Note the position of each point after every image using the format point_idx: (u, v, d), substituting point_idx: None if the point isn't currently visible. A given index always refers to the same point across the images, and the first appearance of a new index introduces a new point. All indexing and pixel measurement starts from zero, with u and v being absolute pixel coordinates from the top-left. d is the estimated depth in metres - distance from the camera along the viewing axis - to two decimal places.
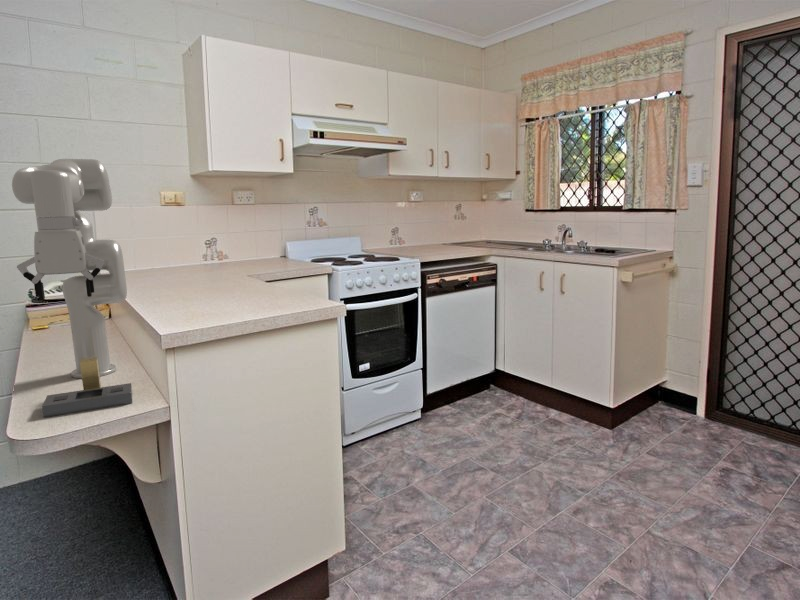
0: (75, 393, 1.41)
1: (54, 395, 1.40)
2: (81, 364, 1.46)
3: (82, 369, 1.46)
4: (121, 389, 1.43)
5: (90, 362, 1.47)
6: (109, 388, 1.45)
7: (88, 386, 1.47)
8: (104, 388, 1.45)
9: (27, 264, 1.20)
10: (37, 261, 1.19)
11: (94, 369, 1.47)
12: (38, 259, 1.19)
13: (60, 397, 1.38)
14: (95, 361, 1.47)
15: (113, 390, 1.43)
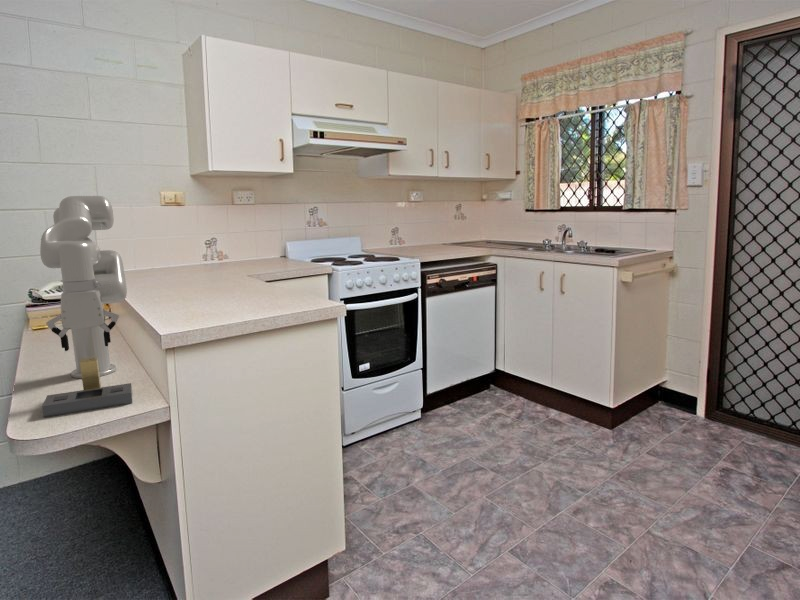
0: (75, 393, 1.41)
1: (54, 395, 1.40)
2: (81, 364, 1.46)
3: (82, 369, 1.46)
4: (121, 389, 1.43)
5: (90, 362, 1.47)
6: (109, 388, 1.45)
7: (88, 386, 1.47)
8: (104, 388, 1.45)
9: (55, 321, 1.42)
10: (63, 318, 1.42)
11: (94, 369, 1.47)
12: (64, 316, 1.42)
13: (60, 397, 1.38)
14: (95, 361, 1.47)
15: (113, 390, 1.43)
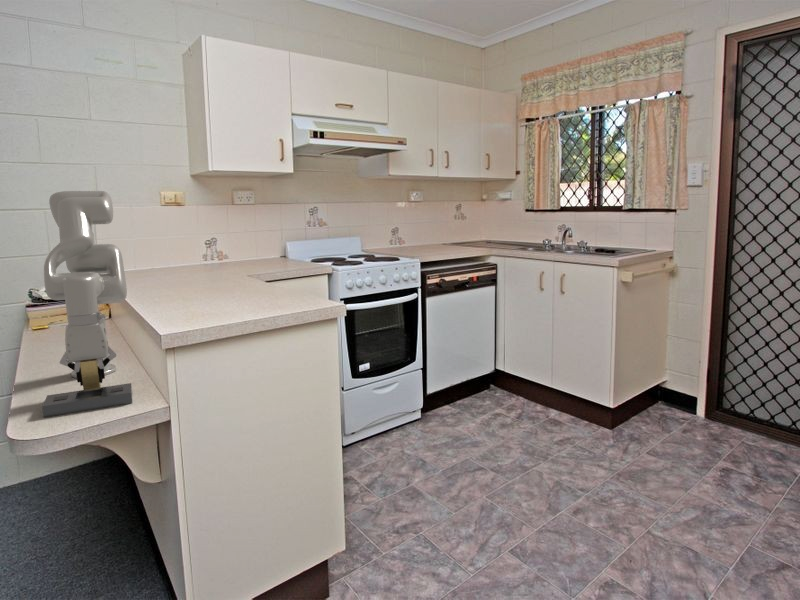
0: (75, 393, 1.41)
1: (54, 395, 1.40)
2: (81, 364, 1.46)
3: (82, 369, 1.46)
4: (121, 389, 1.43)
5: (90, 362, 1.47)
6: (109, 388, 1.45)
7: (88, 386, 1.47)
8: (104, 388, 1.45)
9: (65, 357, 1.45)
10: (68, 351, 1.44)
11: (94, 369, 1.47)
12: (69, 349, 1.44)
13: (60, 397, 1.38)
14: (95, 361, 1.47)
15: (113, 390, 1.43)
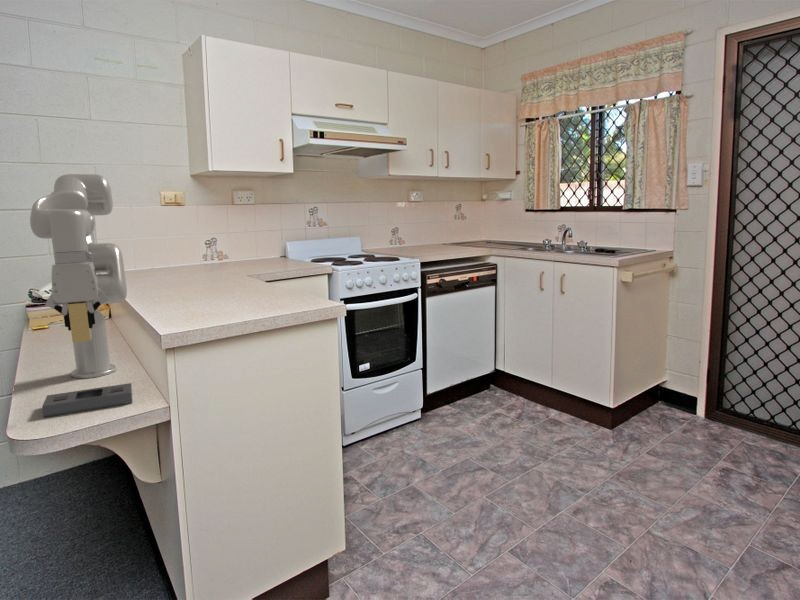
0: (75, 393, 1.41)
1: (54, 395, 1.40)
2: (69, 306, 1.34)
3: (70, 312, 1.34)
4: (121, 389, 1.43)
5: (79, 304, 1.35)
6: (109, 388, 1.45)
7: (77, 331, 1.35)
8: (104, 388, 1.45)
9: (52, 299, 1.33)
10: (54, 292, 1.32)
11: (83, 313, 1.35)
12: (55, 290, 1.32)
13: (60, 397, 1.38)
14: (84, 304, 1.35)
15: (113, 390, 1.43)
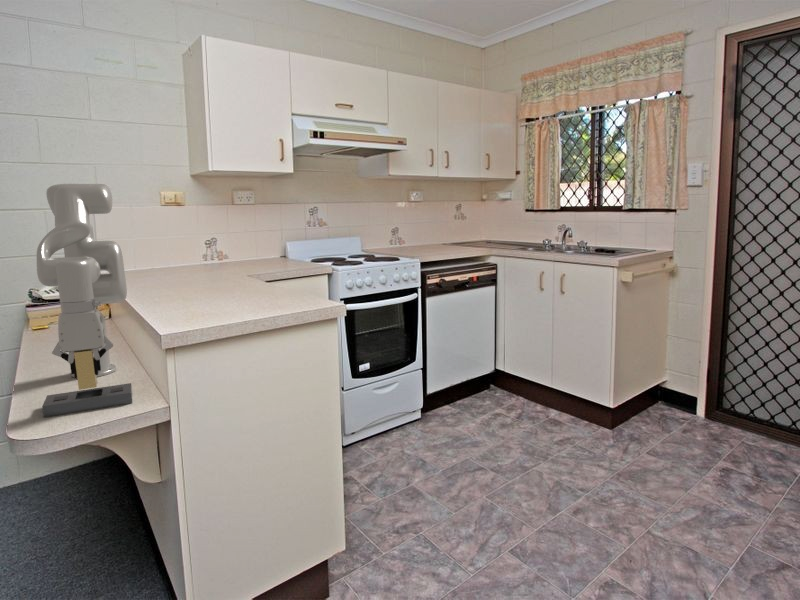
0: (75, 393, 1.41)
1: (54, 395, 1.40)
2: (75, 354, 1.36)
3: (76, 360, 1.36)
4: (121, 389, 1.43)
5: (85, 352, 1.37)
6: (109, 388, 1.45)
7: (83, 378, 1.37)
8: (104, 388, 1.45)
9: (58, 347, 1.35)
10: (61, 341, 1.34)
11: (89, 360, 1.37)
12: (62, 339, 1.34)
13: (60, 397, 1.38)
14: (90, 351, 1.37)
15: (113, 390, 1.43)
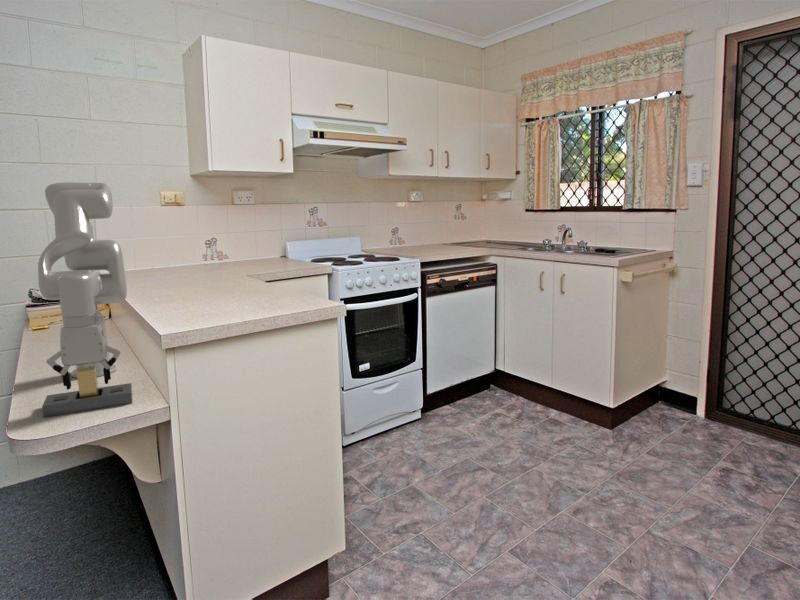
0: (75, 393, 1.41)
1: (54, 395, 1.40)
2: (78, 374, 1.37)
3: (79, 379, 1.37)
4: (121, 389, 1.43)
5: (87, 372, 1.38)
6: (109, 388, 1.45)
7: (85, 397, 1.39)
8: (104, 388, 1.45)
9: (55, 358, 1.35)
10: (63, 355, 1.35)
11: (91, 379, 1.39)
12: (64, 353, 1.35)
13: (60, 397, 1.38)
14: (93, 370, 1.38)
15: (113, 390, 1.43)
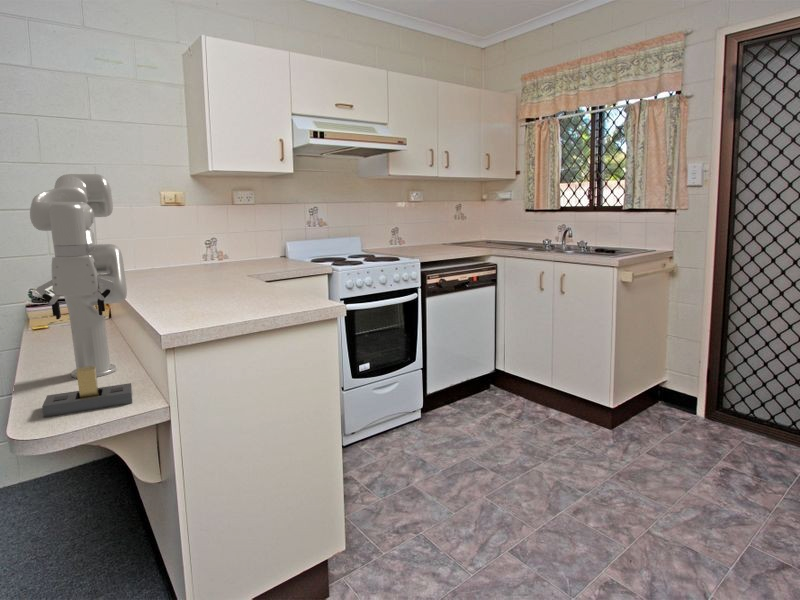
0: (75, 393, 1.41)
1: (54, 395, 1.40)
2: (78, 374, 1.37)
3: (79, 379, 1.37)
4: (121, 389, 1.43)
5: (87, 372, 1.38)
6: (109, 388, 1.45)
7: (86, 397, 1.39)
8: (104, 388, 1.45)
9: (45, 287, 1.34)
10: (54, 284, 1.33)
11: (91, 379, 1.39)
12: (55, 283, 1.33)
13: (60, 397, 1.38)
14: (93, 370, 1.38)
15: (113, 390, 1.43)
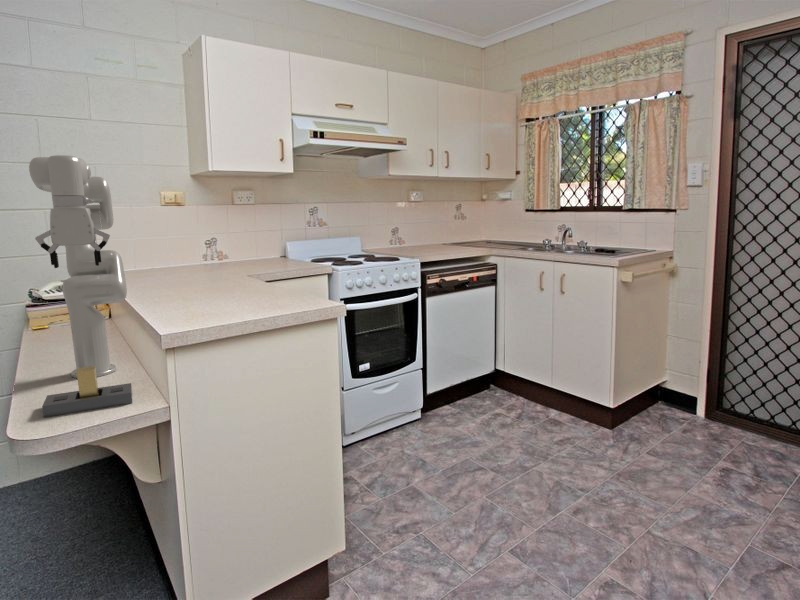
0: (75, 393, 1.41)
1: (54, 395, 1.40)
2: (78, 373, 1.37)
3: (79, 379, 1.37)
4: (121, 389, 1.43)
5: (87, 372, 1.38)
6: (109, 388, 1.45)
7: (85, 397, 1.39)
8: (104, 388, 1.45)
9: (44, 236, 1.40)
10: (52, 233, 1.39)
11: (91, 379, 1.39)
12: (53, 232, 1.39)
13: (60, 397, 1.38)
14: (93, 370, 1.38)
15: (113, 390, 1.43)
